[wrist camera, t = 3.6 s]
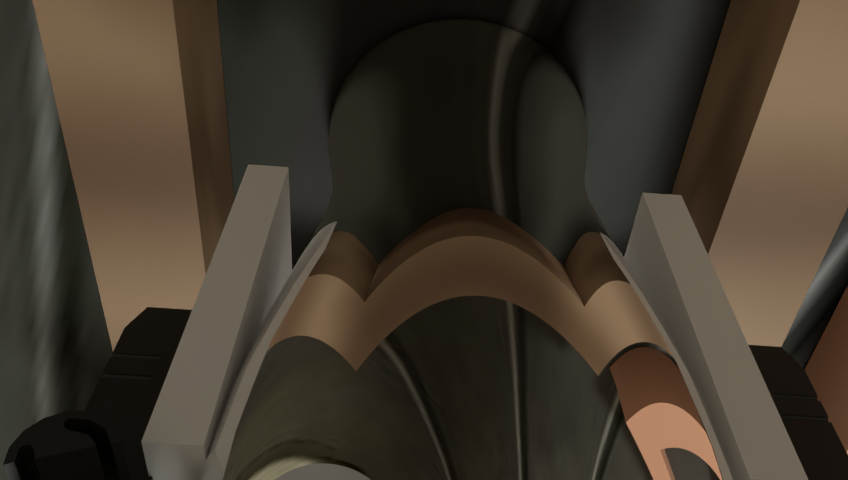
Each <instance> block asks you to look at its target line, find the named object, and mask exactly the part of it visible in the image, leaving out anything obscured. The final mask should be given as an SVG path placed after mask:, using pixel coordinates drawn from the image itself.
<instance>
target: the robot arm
mask: <svg viewBox="0 0 848 480" xmlns="http://www.w3.org/2000/svg"><path fill="white" fill-rule="evenodd" d="M624 258H625V260H626V261H627V263H628V264H629V266H630V268H631V269H632V271H633V273H634V274H635V276H636V278H637V279H638V281H639V282H640V284H641V286H642V287H643V289H644V291H645V292H646V294H647V296H648V297H649V299H650V300H651V302H652V304H653V305H654V307H655V309H656V310H657V312H658V314H659V315H660V317H661V319H662V320H663V322H664V324H665V326H666V328H667V330H668V332H669V334H670V336H671V337H672V339H673V341H674V343H675V345H676V347H677V349H678V351H679V353H680V355H681V357H682V359H683V360H684V362H685V364H686V366H687V368H688V370H689V372H690V374H691V376H692V378H693V380H694V381H695V383H696V385H697V387H698V389H699V391H700V393H701V395H702V398H703V400H704V402H705V405H706V407H707V410H708V413H709V415H710V418H711V420H712V423H713V425H714V428H715V431H716V433H717V436H718V438H719V441H720V443H721V446H722V448H723V451H724V454H725V456H726V459H727V461H728V464H729V466H730V469H731V472H732V474H733V477H734V479H735V480H848V454H847V452H846V450H845V448H844V446H843V444H842V442H841V440H840V438H839V436H838V435H837V433H836V431H835V429H834V427H833V425H832V423H831V422H828V415H827V413H826V411H825V409H824V407H823V405H822V403H821V401H818V399H817V397H818V395H817V393H816V391H815V389H814V387H813V386H812V384H811V382H810V380H809V378H808V376H807V374H806V372H805V370H804V369H803V368H802V367H801V366H800V365H799V364H798V363H797V362H796V361H795V360H794V359H793V358H792V357H791V356H790V355H789V354H788V353H787V352H786V351H785V350H784V349H783V348H782V347H775V346H759V345H748V343H747V341H746V339H745V337H744V334H743V332H742V330H741V328H740V325H739V323H738V321H737V319H736V316H735V314H734V312H733V310H732V307H731V305H730V303H729V301H728V298H727V296H726V294H725V292H724V290H723V287H722V285H721V283H720V281H719V278H718V276H717V274H716V272H715V269H714V267H713V265H712V263H711V260H710V258H709V256H708V254H707V251H706V249H705V247H704V245H703V242H702V240H701V238H700V236H699V234H698V231H697V229H696V227H695V225H694V222H693V220H692V218H691V216H690V213H689V211H688V209H687V207H686V204H685V202H684V200H683V198H682V195H671V194H657V193H643V192H642V196H641V200H640V203H639V207H638V210H637V214H636V217H635V221H634V224H633V228H632V231H631V235H630V238H629V242H628V246H627V249H626V253H625V256H624ZM291 272H292V252H291V225H290V198H289V171H288V167H277V166H263V165H249V164H248V167H247V169H246V172H245V174H244V177H243V180H242V182H241V185H240V187H239V190H238V193H237V195H236V198H235V200H234V203H233V205H232V208H231V211H230V213H229V216H228V218H227V221H226V224H225V226H224V229H223V231H222V234H221V237H220V239H219V242H218V244H217V247H216V249H215V252H214V255H213V257H212V260H211V262H210V265H209V268H208V270H207V273H206V275H205V278H204V281H203V283H202V286H201V288H200V291H199V293H198V296H197V299H196V301H195V304H194V306H193V309H192V310H187V309H172V308H156V307H147V308H146V309H145V310H144V311H142V312H141V313H140V314H139V315H138V316H137V317H136V318H135V319H134V320H132V321H131V322H130V323H129V324H128V325H127V326H126V327H125V328H124V330H123V332H122V334H121V336H120V338H119V340H118V342H117V344H116V346H115V349H114V351H113V356H112V357H110V359H109V361H108V363H107V365H106V367H105V370H104V372H103V377H102V378H100V380H99V382H98V384H97V386H96V388H95V390H94V393H93V395H92V397H91V399H90V401H89V403H88V405H87V407H86V409H85V411H69V412H62V413H59V414H56V415H53V416H50V417H47V418H44V419H42V420H40V421H39V422H37V423H35V424H34V425H32V426H31V427H29V428H28V429H26V430H24V431H23V432H22V433H21V434H20V436H19V437H18V438H17V439H16V440H15V441H14V442H13V444H12V445H11V446H10V447H9V450H8V452H7V455H6V458H5V461H4V464H3V466H4V468H5V471H6V474H7V476H8V479H9V480H199V478H200V475H201V472H202V469H203V466H204V464H205V461H206V458H207V455H208V452H209V449H210V446H211V444H212V441H213V438H214V435H215V432H216V429H217V426H218V423H219V420H220V417H221V414H222V412H223V409H224V406H225V403H226V400H227V398H228V396H229V393H230V391H231V389H232V387H233V385H234V383H235V381H236V379H237V376H238V374H239V372H240V370H241V368H242V366H243V364H244V362H245V359H246V357H247V355H248V353H249V351H250V349H251V347H252V345H253V343H254V340H255V338H256V336H257V334H258V332H259V330H260V328H261V326H262V324H263V322H264V320H265V318H266V316H267V315H268V313H269V311H270V309H271V307H272V306H273V304H274V302H275V300H276V299H277V297H278V295H279V293H280V291H281V290H282V288H283V286H284V284H285V282H286V281H287V279H288V277H289V275H290V274H291Z"/></svg>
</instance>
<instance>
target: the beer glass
mask: <svg viewBox="0 0 848 480" xmlns="http://www.w3.org/2000/svg"><path fill="white" fill-rule="evenodd" d="M329 154H330V165H331V173H332V182H333V190H332V196H331V199H330V202H329V205H328V208H327V209H326V211H325V213H324V215H323V217H322V219H321V221H320V223H319V225H318V227H317V229H316V230H315V232H314V234H313V236H312V237H311V239H310V241H309V242H308V244H307V246H306V248H305V249H304V251H303V253H302V254H301V256H300V258H299V260H298V261H297V263H296V265H295V266H294V268H293V270H292V272H291V274H290V275H289V277H288V279H287V281H286V282H285V284H284V286H283V288H282V290H281V291H280V293H279V295H278V297H277V299H276V300H275V302H274V304H273V306H272V307H271V309H270V311H269V313H268V315H267V316H266V318H265V320H264V322H263V324H262V326H261V328H260V330H259V332H258V334H257V336H256V338H255V340H254V343H253V345H252V347H251V349H250V351H249V353H248V355H247V357H246V359H245V362H244V364H243V366H242V368H241V370H240V372H239V374H238V376H237V379H236V381H235V383H234V385H233V387H232V389H231V391H230V393H229V396H228V398H227V400H226V403H225V406H224V409H223V412H222V414H221V417H220V420H219V423H218V426H217V429H216V432H215V435H214V438H213V441H212V444H211V446H210V449H209V452H208V455H207V458H206V461H205V464H204V466H203V469H202V472H201V475H200V478H199V480H735V479H734V477H733V474H732V472H731V469H730V466H729V464H728V461H727V459H726V456H725V454H724V451H723V448H722V446H721V443H720V441H719V438H718V436H717V433H716V431H715V428H714V425H713V423H712V420H711V418H710V415H709V413H708V410H707V407H706V405H705V402H704V400H703V398H702V395H701V393H700V391H699V389H698V387H697V385H696V383H695V381H694V380H693V378H692V376H691V374H690V372H689V370H688V368H687V366H686V364H685V362H684V360H683V359H682V357H681V355H680V353H679V351H678V349H677V347H676V345H675V343H674V341H673V339H672V337H671V336H670V334H669V332H668V330H667V328H666V326H665V324H664V322H663V320H662V319H661V317H660V315H659V314H658V312H657V310H656V309H655V307H654V305H653V304H652V302H651V300H650V299H649V297H648V296H647V294H646V292H645V291H644V289H643V287H642V286H641V284H640V282H639V281H638V279H637V278H636V276H635V274H634V273H633V271H632V269H631V268H630V266H629V264H628V263H627V261H626V260H625V258H624V257H623V255H622V253H621V252H620V250H619V249H618V247H617V246H616V244H615V242H614V241H613V239H612V238H611V236H610V234H609V233H608V231H607V230H606V228H605V227H604V225H603V223H602V222H601V220H600V218H599V216H598V215H597V213H596V211H595V209H594V208H593V206H592V204H591V202H590V200H589V197H588V195H587V192H586V188H585V168H586V156H587V125H586V118H585V113H584V109H583V105H582V101H581V98H580V96H579V93H578V91H577V89H576V87H575V85H574V83H573V81H572V79H571V78H570V76H569V75H568V73H567V72H566V70H565V69H564V68H563V66H562V65H561V64H560V63H559V62H558V61H557V60H556V59H555V58H554V57H553V56H552V55H551V54H550V53H549V52H548V51H547V50H546V49H544V48H543V47H542V46H541V45H539V44H538V43H537V42H535V41H533V40H532V39H530V38H529V37H527V36H525V35H523V34H521V33H519V32H517V31H515V30H512V29H510V28H507V27H504V26H501V25H498V24H494V23H490V22H485V21H479V20H469V19H448V20H439V21H433V22H428V23H424V24H420V25H417V26H414V27H411V28H408V29H406V30H403V31H401V32H399V33H397V34H395V35H393V36H391V37H389V38H388V39H386V40H384V41H383V42H381V43H380V44H378V45H377V46H376V47H374V48H373V49H372V50H371V51H370V52H369V53H367V54H366V55H365V56H364V57H363V58H362V59H361V60H360V61H359V62H358V64H357V65H356V66H355V67H354V68H353V70H352V71H351V72H350V74H349V75H348V76H347V78H346V80H345V81H344V83H343V85H342V86H341V89H340V91H339V93H338V95H337V98H336V100H335V103H334V107H333V110H332V115H331V120H330V127H329Z"/></svg>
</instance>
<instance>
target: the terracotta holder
mask: <svg viewBox="0 0 848 480" xmlns="http://www.w3.org/2000/svg"><path fill="white" fill-rule="evenodd" d="M805 372H806V374H807V376H808V378H809V380H810V382H811V384H812V386H813V387H814V389H815V391H816V393H817V395H818V397H817V399H818V401H821V403H822V405H823V407H824V409H825V411H826V413H827V415H828V422H831V423H832V425H833V427H834V429H835V431H836V433H837V435H838V436H839V438H840V440H841V442H842V444H843V446H844V448H845V450H846V452H847V454H848V286H847V287H846V289H845V291H844V293H843V295H842V297H841V299H840V301H839V303H838V305H837V307H836V309H835V311H834V313H833V315H832V317H831V319H830V321H829V323H828V325H827V327H826V329H825V331H824V333H823V334H822V336H821V338H820V340H819V342H818V344H817V346H816V348H815V350H814V352H813V354H812V356H811V358H810V360H809V362H808V364H807V366H806V368H805Z"/></svg>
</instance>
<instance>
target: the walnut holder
mask: <svg viewBox="0 0 848 480" xmlns="http://www.w3.org/2000/svg"><path fill="white" fill-rule="evenodd" d="M32 1H33V5H34V9H35V14H36V18H37V23H38V27H39V31H40V36H41V40H42V44H43V49H44V53H45V57H46V62H47V66H48V71H49V75H50V79H51V84H52V88H53V92H54V97H55V101H56V105H57V110H58V114H59V119H60V123H61V127H62V132H63V136H64V140H65V145H66V149H67V153H68V158H69V162H70V167H71V171H72V175H73V180H74V184H75V188H76V193H77V197H78V201H79V206H80V210H81V214H82V219H83V223H84V228H85V232H86V236H87V241H88V245H89V249H90V254H91V258H92V262H93V267H94V271H95V276H96V280H97V284H98V289H99V293H100V297H101V302H102V306H103V310H104V315H105V319H106V324H107V328H108V332H109V337H110V341H111V345H112V350H113V351H114V349H115V346H116V344H117V342H118V340H119V338H120V336H121V334H122V332H123V330H124V328H125V327H126V326H127V325H128V324H129V323H130V322H131V321H132V320H134V319H135V318H136V317H137V316H138V315H139V314H140V313H141V312H142V311H144V310H145V309H146V308H147V307H156V308H172V309H187V310H192V309H193V306H194V304H195V301H196V299H197V296H198V293H199V291H200V288H201V286H202V283H203V281H204V278H205V275H206V273H207V270H208V268H209V265H210V262H211V260H212V257H213V255H214V252H215V249H216V247H217V244H218V242H219V239H220V237H221V234H222V231H223V229H224V226H225V224H226V221H227V218H228V216H229V213H230V211H231V208H232V205H233V203H234V192H233V181H232V169H231V158H230V146H229V135H228V123H227V112H226V100H225V89H224V77H223V66H222V54H221V43H220V32H219V20H218V9H217V0H32ZM671 195H682V198H683V200H684V202H685V204H686V207H687V209H688V211H689V213H690V216H691V218H692V220H693V222H694V225H695V227H696V229H697V231H698V234H699V236H700V238H701V240H702V242H703V245H704V247H705V249H706V251H707V254H708V256H709V258H710V260H711V263H712V265H713V267H714V269H715V272H716V274H717V276H718V278H719V281H720V283H721V285H722V287H723V290H724V292H725V294H726V296H727V298H728V301H729V303H730V305H731V307H732V310H733V312H734V314H735V316H736V319H737V321H738V323H739V325H740V328H741V330H742V332H743V334H744V337H745V339H746V341H747V343H748V345H759V346H775V347H782V345H783V342H784V340H785V338H786V336H787V334H788V332H789V330H790V328H791V326H792V323H793V321H794V319H795V317H796V315H797V313H798V311H799V309H800V307H801V304H802V302H803V300H804V298H805V296H806V294H807V292H808V290H809V288H810V285H811V283H812V281H813V279H814V277H815V275H816V273H817V271H818V269H819V267H820V264H821V262H822V260H823V258H824V256H825V254H826V252H827V250H828V248H829V245H830V243H831V241H832V239H833V237H834V235H835V233H836V231H837V229H838V226H839V224H840V222H841V220H842V218H843V216H844V214H845V212H846V210H847V207H848V0H731V2H730V5H729V8H728V12H727V15H726V18H725V21H724V24H723V28H722V31H721V34H720V37H719V41H718V44H717V47H716V50H715V54H714V57H713V60H712V63H711V67H710V70H709V73H708V76H707V80H706V83H705V86H704V89H703V92H702V96H701V99H700V102H699V105H698V109H697V112H696V115H695V118H694V122H693V125H692V128H691V131H690V135H689V138H688V141H687V144H686V148H685V151H684V154H683V157H682V161H681V164H680V167H679V170H678V173H677V177H676V180H675V183H674V186H673V190H672V193H671Z"/></svg>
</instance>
